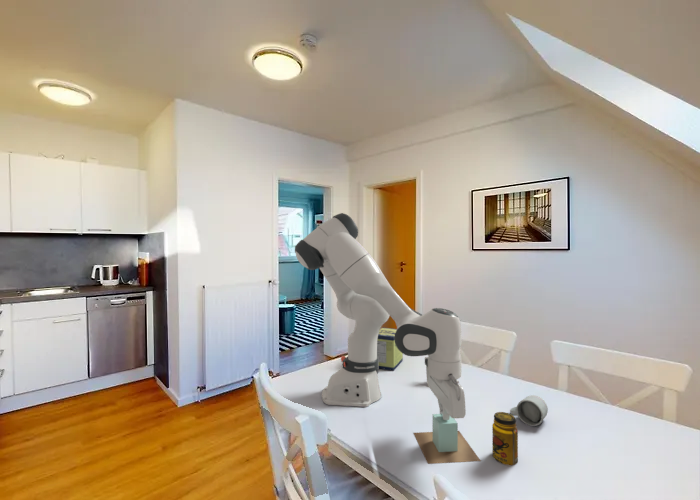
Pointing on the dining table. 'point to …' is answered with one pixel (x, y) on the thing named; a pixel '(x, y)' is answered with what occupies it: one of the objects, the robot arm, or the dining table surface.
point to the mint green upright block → (445, 434)
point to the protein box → (388, 350)
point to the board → (434, 456)
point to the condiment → (505, 439)
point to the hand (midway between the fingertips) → (444, 417)
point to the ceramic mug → (531, 410)
